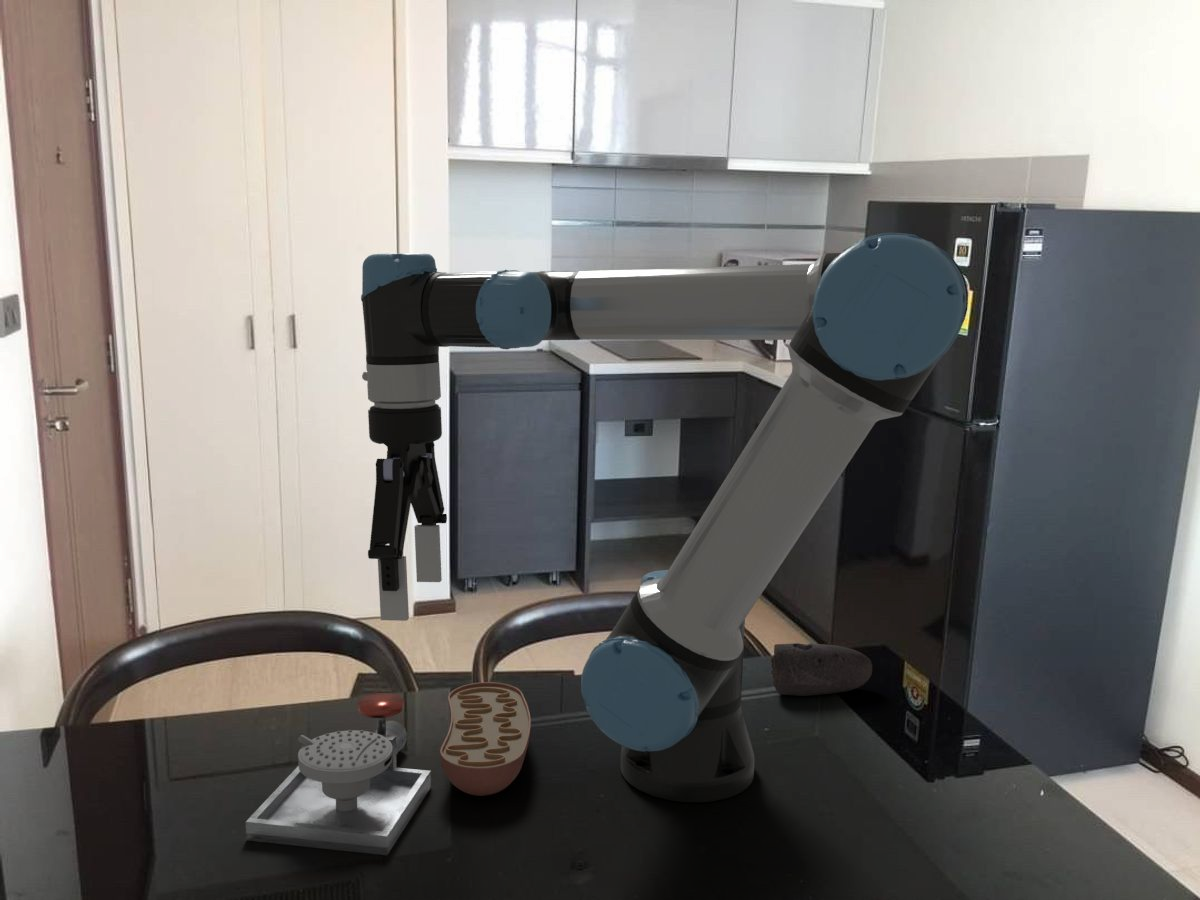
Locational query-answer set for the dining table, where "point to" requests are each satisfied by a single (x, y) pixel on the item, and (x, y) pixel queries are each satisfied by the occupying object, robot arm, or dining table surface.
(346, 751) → the showerhead
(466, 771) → the anatomical model
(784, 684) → the perforated stone tool
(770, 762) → the dining table surface
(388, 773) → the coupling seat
